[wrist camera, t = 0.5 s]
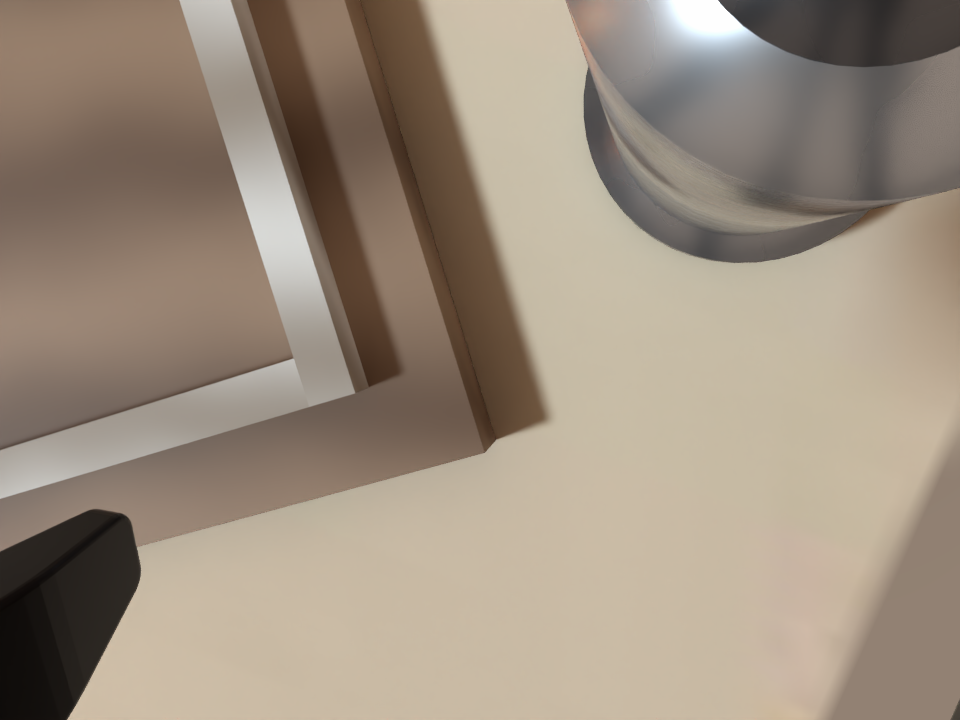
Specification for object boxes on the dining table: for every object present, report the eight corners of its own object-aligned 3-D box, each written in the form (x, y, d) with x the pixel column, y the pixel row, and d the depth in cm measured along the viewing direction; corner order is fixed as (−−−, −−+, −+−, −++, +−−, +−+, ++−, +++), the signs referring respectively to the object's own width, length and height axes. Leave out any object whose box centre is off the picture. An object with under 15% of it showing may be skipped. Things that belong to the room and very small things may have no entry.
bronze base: (495, 440, 22) (476, 461, 20) (-65, 593, 26) (-138, 627, 24) (281, -254, 22) (233, -320, 19) (-266, 12, 26) (-363, -14, 23)
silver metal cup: (892, 269, 20) (1294, 284, 7) (579, 256, 22) (468, 248, 9) (924, -59, 19) (1443, -676, 7) (596, -51, 21) (502, -550, 8)
